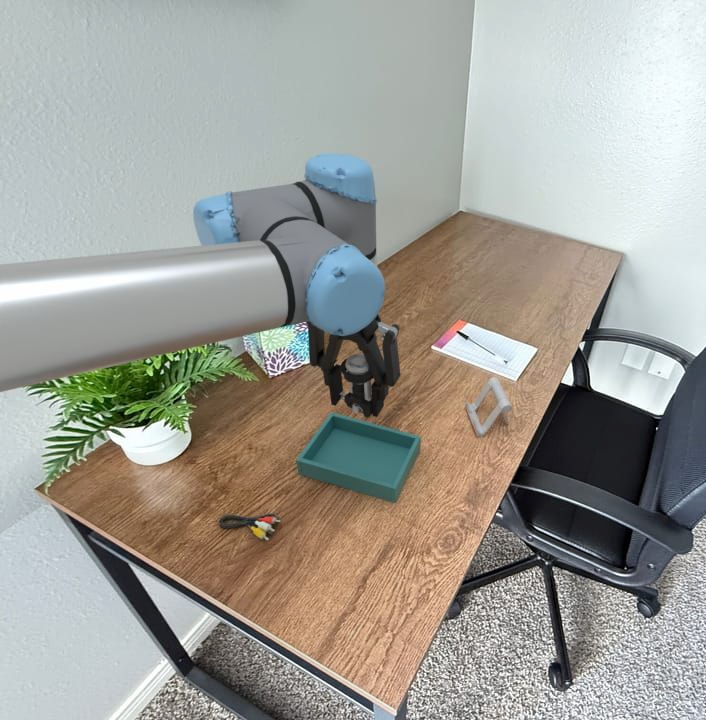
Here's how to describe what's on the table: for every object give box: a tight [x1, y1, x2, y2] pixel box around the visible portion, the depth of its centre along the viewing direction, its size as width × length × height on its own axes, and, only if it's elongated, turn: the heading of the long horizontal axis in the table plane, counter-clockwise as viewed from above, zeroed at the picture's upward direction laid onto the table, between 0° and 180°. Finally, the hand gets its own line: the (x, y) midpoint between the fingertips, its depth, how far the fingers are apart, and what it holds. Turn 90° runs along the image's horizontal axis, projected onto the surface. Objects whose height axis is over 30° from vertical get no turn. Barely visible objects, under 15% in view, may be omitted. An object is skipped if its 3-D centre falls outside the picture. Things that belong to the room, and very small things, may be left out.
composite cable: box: [217, 512, 282, 542], centre depth 74 cm, size 10×5×2 cm, turn 75°
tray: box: [295, 411, 422, 504], centre depth 86 cm, size 19×13×4 cm
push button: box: [340, 353, 374, 419], centre depth 73 cm, size 7×5×10 cm
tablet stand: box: [464, 376, 513, 438], centre depth 97 cm, size 9×8×8 cm
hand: (357, 405), depth 76 cm, fingers closed on push button, 6 cm apart
